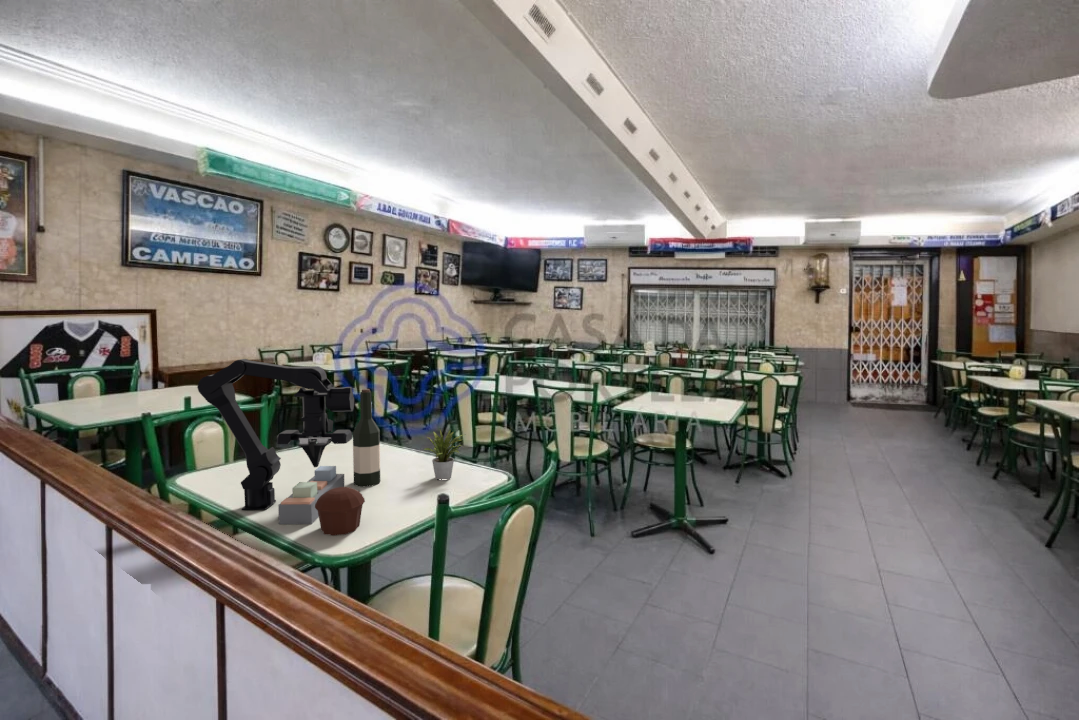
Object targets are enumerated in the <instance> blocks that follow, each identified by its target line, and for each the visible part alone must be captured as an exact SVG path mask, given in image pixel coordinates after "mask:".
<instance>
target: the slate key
mask: <svg viewBox="0 0 1079 720" xmlns="http://www.w3.org/2000/svg"><path fill="white" fill-rule="evenodd" d="M336 474H337V466H336V465H319V466H318V467H316V469H314V476H315V481H332V480H333V479H334V478H335V477H336Z"/></svg>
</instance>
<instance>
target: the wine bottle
mask: <svg viewBox="0 0 1079 720" xmlns="http://www.w3.org/2000/svg"><path fill="white" fill-rule="evenodd" d="M359 396H360V400H359V402H360V403H359V404H360V405H359V406H360V419H359V421H358V423H357V425H356V426H355V428H354V430H353V431H352V458H353V459H352V460H353V461H352V462H353V463H352V465H353V485H354V486H357V487H359V488H362V487H363V486H365V487H373V486H377V485H378V484H380V482H381V441H380V440H381V439H380V438H381V436H380V435H381V430H380V428H379V426H378V425H377V423H376V422H375V421H374V419H373V415H372V414H373V412H372V391H371V390H370V388H362V389H361V391H360V393H359ZM372 485H373V486H372ZM363 488H364V487H363Z"/></svg>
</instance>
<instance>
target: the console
mask: <svg viewBox="0 0 1079 720" xmlns="http://www.w3.org/2000/svg"><path fill="white" fill-rule="evenodd" d="M310 481H315V475H314V476H312V477H311V478H310V479H308V480H307V481H306V482H310ZM338 487H346V486H345V473H336V477H335V478H334V479H333V480H332V481H327V486H325V487H324V488H323V489H322V490H317V495H316V496H314V497H313V498H293V493H292V494H290V495H288V496H287V497H286V498H284V499H283V500H281V502H280V503H279V504H278V505H277V507H278V509H277V510H278V511H277V512H278V525H312V524H313V523H314V522H315V521H317V519H319V515H318V510H316V508H315V504H316V502H317V500H318V499H319V497H320V496H321V495H323V494H324V493H325V492H327V491H329V490H330V489H333V488H338Z"/></svg>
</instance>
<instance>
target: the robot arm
mask: <svg viewBox="0 0 1079 720" xmlns="http://www.w3.org/2000/svg"><path fill="white" fill-rule="evenodd" d="M244 375H245V376H251V377H259V378H264V379H270V380H278V381H283V382H288V383H291V384H293V385H294V386H298V387H300V388H299V389H298V391H297V392H296V393H294V394H293V396H294V397H296V398H297V397H298V398H299V397H300V398H302V417H301V418H300V420H301V422H303V431H302V432H300V430H299V429H285V430H283V431H282V432H280V433H278V435H277V436H276V445H289V444H290V443H291V442H292V441H299V443H298V445H297V446H298V448H301V449H302V450H303V451H304V453H305V454H306V455H307V457H308V459H309V461H310V463H311V465H312V467H313V468H318V467H319V466H320V463H321V462H320V461H321V459H322V456H323V452H324V450H325V448H326V447H327V446H328V445H329V444H331V443H333V444H335V445H342V444H344V445H345V444H347V443H349V442H350V441H352V440H353V431H351V429H337V430H335V431H333V428H334V427H333V425H334V420H331V419H329V418H328V414H327V413H326V409H327V410H329V412H341V413H342V412H354V408H355V397H354V392H353V390H352V389H353V387H352V386H345V387H335V385H334V384H333V383H332V382H331V381H330V380H329V379H328V377H327V373H326V371H325V370H324V368H322V367H321V366H317V365H316V366H315V365H313V366H311V365H309V366H308V365H307V366H287V365H283V364H282V365H281V364H274V363H270V362H269V363H268V362H262V361H255V360H249V359H248V358H241V359H237V360H234V361H233V362H232V363H230V364H229V365H227V366H226V367H224V368H222V369H220V370H219V371H216V373H214V374H210V375H209V374H208V375H206V376H203V377H202V378H200V379H199V381H198V383H197V391H198V393H199V394H200V395H201V396H202V397H203V399H205V401H206V402H207V403H208V404H210V405H212V406H213V407H215V408H216V409H217V410H218V412H219V413H220V415H221V416H222V418H223V419H224V421H225V423H226V425H227V426H228V428H229V430H230V431H231V433H232V435H233V436H234V438H235V440H236V442H237V443H238V445H239V446H240V448H241V449H242V451H243V452H244V455H245V462H246V467H247V470H248V473H249V474H248V475H247V476H246V477H244V479H242V481H241V482H240V485H241V488H242V490H243V491H244V493H243V494H244V506H242V507H241V510H242V511H259V510H260V511H263V510H264V511H265V510H267V509H268V508H270V507H271V506H273V504H275V503H277V500H276V499H275V498H276V496H275V495H276V493H275V490H276V489H275V488H274V487H273V486H274V485H273V482H272V480H273V479H274V476H275V475H276V474H277V473H278V472H279V471H280V470H281V462H280V460H282V457H280V456H279V455H278V454H277V451H276V450H275V449H276V448H274V447H273V446H272V447H270V448H267V447H266V446H265V445H263V443H262V442H261V440H260V438H259V437H258V436H257V433H256V432H255V430H254V429H253V427H252V425H251V423H250V422H249V420H248V419H247V417H246V415H245V413H244V412H243V411H242V409H241V407H240V406H239V404H238V402H237V399H236V390H235V388H234V385H233V384H234V383H236V382H237V381H238V380H240V379H241V378H242V377H244Z"/></svg>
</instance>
